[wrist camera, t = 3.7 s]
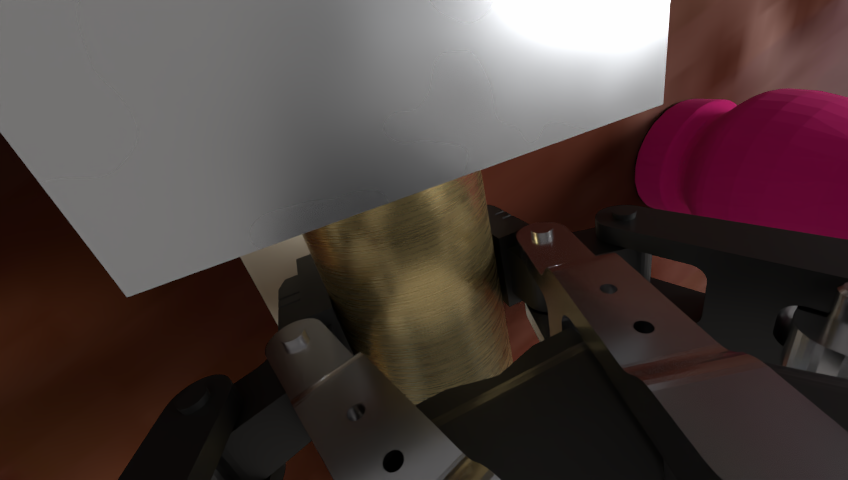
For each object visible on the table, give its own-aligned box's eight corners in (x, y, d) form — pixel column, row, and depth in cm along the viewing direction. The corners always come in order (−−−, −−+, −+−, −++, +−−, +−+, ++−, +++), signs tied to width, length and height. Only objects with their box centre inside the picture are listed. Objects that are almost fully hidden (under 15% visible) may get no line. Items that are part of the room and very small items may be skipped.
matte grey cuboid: (141, -20, 10) (-558, -593, 2) (401, -68, 11) (701, -462, 3) (230, 158, 12) (127, 297, 4) (435, 97, 14) (663, 104, 6)
